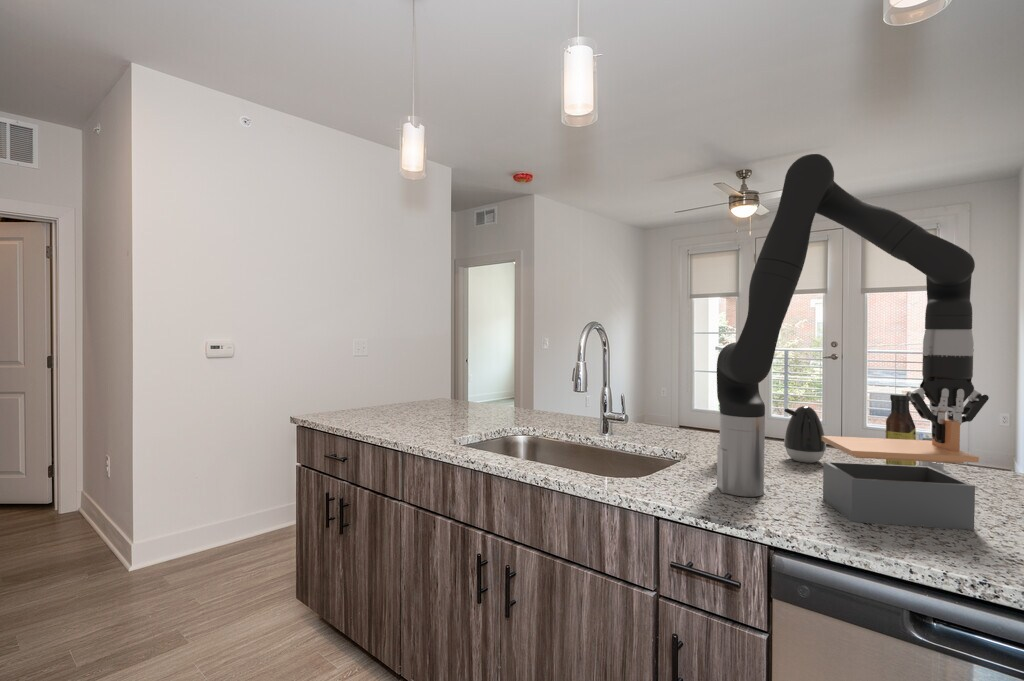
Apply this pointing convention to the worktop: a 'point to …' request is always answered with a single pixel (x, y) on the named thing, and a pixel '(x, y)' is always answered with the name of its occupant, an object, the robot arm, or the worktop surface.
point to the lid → (906, 447)
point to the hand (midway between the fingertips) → (945, 442)
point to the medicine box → (926, 463)
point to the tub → (899, 495)
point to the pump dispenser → (804, 435)
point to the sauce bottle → (900, 425)
